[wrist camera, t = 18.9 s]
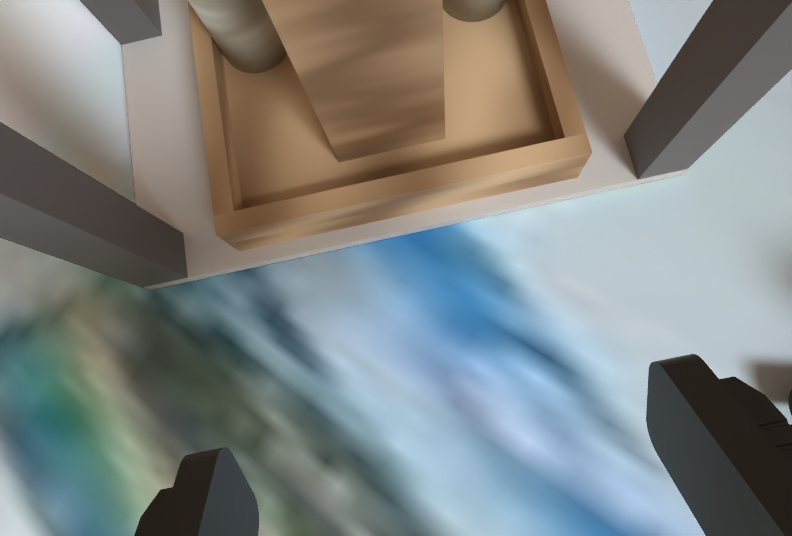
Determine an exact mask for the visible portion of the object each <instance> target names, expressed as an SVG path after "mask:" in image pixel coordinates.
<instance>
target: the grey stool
mask: <svg viewBox="0 0 792 536" xmlns="http://www.w3.org/2000/svg"><path fill="white" fill-rule="evenodd" d="M80 1H81V2H82V3H83V4H84V5H85V6H86V7H87V8H88V9H89V11H90V12H91V13H92V14H93V15H94V16H95V17H96V18H97V19H98V20H99V21H100V22H101V23H102V24H103V25H104V27H105V28H106V29H107V30H108V31H109V32H110V33H111V34H112V35H113V36H114V37H115V38H116V39H117V40H118V41H119V43H120V44H121V45H122V52H123V64H124V76H125V87H126V99H127V110H128V122H129V134H130V145H131V157H132V169H133V180H134V192H135V204H134V203H133V202H131V201H129V200H128V199H126V198H124V197H123V196H121V195H119V194H118V193H116V192H115V191H113V190H111V189H110V188H108V187H106V186H105V185H103V184H101V183H100V182H98V181H96V180H95V179H93V178H91V177H90V176H88V175H87V174H85V173H83V172H82V171H80V170H78V169H77V168H75V167H73V166H72V165H70V164H68V163H67V162H65V161H64V160H62V159H60V158H59V157H57V156H55V155H54V154H52V153H50V152H49V151H47V150H45V149H44V148H42V147H40V146H39V145H37V144H36V143H34V142H32V141H31V140H29V139H27V138H26V137H24V136H22V135H21V134H19V133H17V132H16V131H14V130H12V129H11V128H9V127H8V126H6V125H4V124H3V123H1V122H0V238H3V239H6V240H9V241H12V242H14V243H17V244H20V245H23V246H26V247H29V248H32V249H34V250H37V251H40V252H43V253H46V254H49V255H52V256H54V257H57V258H60V259H63V260H66V261H69V262H71V263H74V264H77V265H80V266H83V267H86V268H89V269H91V270H94V271H97V272H100V273H103V274H106V275H108V276H111V277H114V278H117V279H120V280H123V281H126V282H128V283H131V284H134V285H137V286H140V287H143V288H146V289H148V290H153V289H158V288H162V287H167V286H172V285H176V284H181V283H185V282H190V281H195V280H199V279H204V278H208V277H213V276H218V275H222V274H227V273H231V272H236V271H241V270H245V269H250V268H254V267H259V266H264V265H268V264H273V263H277V262H282V261H287V260H291V259H296V258H300V257H305V256H310V255H314V254H319V253H323V252H328V251H333V250H337V249H342V248H346V247H351V246H356V245H360V244H365V243H370V242H374V241H379V240H383V239H388V238H393V237H397V236H402V235H406V234H411V233H416V232H420V231H425V230H429V229H434V228H439V227H443V226H448V225H452V224H457V223H462V222H466V221H471V220H475V219H480V218H485V217H489V216H494V215H498V214H503V213H508V212H512V211H517V210H521V209H526V208H531V207H535V206H540V205H544V204H549V203H554V202H558V201H563V200H567V199H572V198H577V197H581V196H586V195H590V194H595V193H600V192H604V191H609V190H613V189H618V188H623V187H627V186H632V185H636V184H641V183H646V182H650V181H655V180H659V179H664V178H669V177H673V176H678V175H682V174H683V173H684V172H685V171H686V170H687V169H688V168H689V167H690V166H691V165H692V164H693V163H694V162H695V161H696V160H697V159H698V158H699V157H700V156H701V155H702V154H703V153H704V152H706V151H707V150H708V149H709V148H710V147H711V146H712V145H713V144H714V143H715V142H716V141H717V140H718V139H719V138H720V137H721V136H722V135H723V134H724V133H725V132H726V131H727V130H728V129H730V128H731V127H732V126H733V125H734V124H735V123H736V122H737V121H738V120H739V119H740V118H741V117H742V116H743V115H744V114H745V113H746V112H747V111H748V110H749V109H750V108H751V107H752V106H754V105H755V104H756V103H757V102H758V101H759V100H760V99H761V98H762V97H763V96H764V95H765V94H766V93H767V92H768V91H769V90H770V89H771V88H772V87H773V86H774V85H775V84H776V83H778V82H779V81H780V80H781V79H782V78H783V77H784V76H785V75H786V74H787V73H788V72H789V71H790V70H791V69H792V0H713V1H712V3H711V4H710V6H709V7H708V9H707V10H706V12H705V13H704V15H703V16H702V18H701V19H700V21H699V22H698V24H697V25H696V27H695V29H694V30H693V32H692V33H691V35H690V36H689V38H688V39H687V41H686V42H685V44H684V45H683V47H682V48H681V50H680V51H679V53H678V54H677V56H676V57H675V59H674V60H673V62H672V63H671V65H670V66H669V68H668V69H667V71H666V72H665V74H664V75H663V77H662V78H661V80H660V81H659V83H658V84H657V81H656V78H655V75H654V73H653V70H652V67H651V64H650V61H649V58H648V55H647V53H646V50H645V47H644V44H643V41H642V38H641V35H640V33H639V30H638V27H637V24H636V21H635V18H634V15H633V13H632V10H631V7H630V4H629V1H628V0H546V3H547V6H548V9H549V12H550V16H551V19H552V22H553V25H554V29H555V32H556V35H557V38H558V42H559V45H560V48H561V52H562V55H563V58H564V61H565V65H566V68H567V71H568V74H569V78H570V81H571V84H572V87H573V91H574V94H575V97H576V100H577V104H578V107H579V110H580V114H581V117H582V120H583V123H584V127H585V130H586V133H587V136H588V140H589V143H590V146H591V149H592V154H591V156H590V157H589V159H588V161H587V163H586V164H585V166H584V168H583V169H582V171H581V173H580V175H579V176H578V178H573V179H569V180H564V181H559V182H555V183H550V184H546V185H541V186H537V187H532V188H527V189H523V190H518V191H514V192H509V193H504V194H500V195H495V196H491V197H486V198H481V199H477V200H472V201H468V202H463V203H459V204H454V205H449V206H445V207H440V208H436V209H431V210H426V211H422V212H417V213H413V214H408V215H403V216H399V217H394V218H390V219H385V220H381V221H376V222H371V223H367V224H362V225H358V226H353V227H348V228H344V229H339V230H335V231H330V232H326V233H321V234H316V235H312V236H307V237H303V238H298V239H293V240H289V241H284V242H280V243H275V244H270V245H266V246H261V247H257V248H252V249H248V250H243V251H238V250H237V249H235V248H234V247H232V246H231V245H229V244H228V243H226V242H225V241H224V240H222V239H221V238H219V237H218V236H216V232H215V224H214V216H213V207H212V199H211V191H210V183H209V174H208V166H207V158H206V149H205V141H204V133H203V125H202V116H201V108H200V100H199V91H198V83H197V75H196V67H195V58H194V50H193V42H192V34H191V25H190V17H189V9H188V0H80Z"/></svg>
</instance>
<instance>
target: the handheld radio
mask: <svg viewBox="0 0 792 536" xmlns="http://www.w3.org/2000/svg"><path fill="white" fill-rule="evenodd" d="M789 409H790V412H791V415H792V390H791V392H790V394H789Z"/></svg>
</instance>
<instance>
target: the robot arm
mask: <svg viewBox="0 0 792 536" xmlns="http://www.w3.org/2000/svg"><path fill="white" fill-rule="evenodd" d="M646 421H647V428H648V432H649V436H650V439H651V442H652V444H653V446H654V449H655V451H656V452H657V454H658V456H659V458H660V459H661V461H662V463H663V464H664V466H665V468H666V469H667V471H668V473H669V474H670V476H671V478H672V479H673V481H674V483H675V485H676V486H677V488H678V490H679V491H680V493H681V495H682V496H683V498H684V500H685V501H686V503H687V505H688V506H689V508H690V510H691V511H692V513H693V515H694V516H695V518H696V520H697V521H698V523H699V525H700V526H701V528H702V530H703V532H704V533H705V535H706V536H792V425H789V424H788V422H787V419H786V418H785V417H784V416H783V414H782V413H781V412H780V411H779V410H778V409H777V408H776V407H775V406H774V404H773V403H772V402H771V401H770V400H769V399H768V398H767V397H766V396H765V395H764V394H762V393H761V392H759V391H757V390H756V389H754V388H752V387H751V386H749V385H747V384H746V383H744V382H743V381H741V380H739V379H738V378H736V377H730V378H725V379H720V380H719V379H718V377H717V376H716V375H715V374H714V373H713V371H712V370H711V369H710V368H709V367H708V365H707V364H706V363H705V362H704V361H703V360H702V359H701V358H700V357H699V356H698V355H696V354H690V355H685V356H680V357H675V358H671V359H666V360H661V361H656V362H652V363H651V364H650V367H649V377H648V396H647V415H646ZM258 529H259V512H258V505H257V501H256V498H255V495H254V493H253V491H252V489H251V488H250V486H249V484H248V482H247V480H246V478H245V476H244V475H243V473H242V471H241V469H240V467H239V465H238V463H237V462H236V460H235V458H234V456H233V454H232V452H231V451H230V450H229V449H228V448H226V447H224V448H219V449H214V450H209V451H204V452H199V453H194V454H189V455H186V456H185V457H184V458H183V460H182V461H181V464H180V467H179V470H178V473H177V476H176V479H175V482H174V486H173V487H172V488H167V489H162V490H160V491H159V493H158V494H157V495H156V497H155V498H154V500H153V501H152V502H151V504H150V505H149V507H148V508H147V509H146V511H145V512H144V514H143V515H142V516H141V518H140V521H139V524H138V527H137V529H136V532H135V535H134V536H258Z"/></svg>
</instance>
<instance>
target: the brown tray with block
mask: <svg viewBox="0 0 792 536" xmlns="http://www.w3.org/2000/svg"><path fill="white" fill-rule="evenodd" d="M188 9H189V17H190V25H191V34H192V42H193V50H194V58H195V67H196V75H197V83H198V91H199V100H200V108H201V116H202V125H203V133H204V141H205V149H206V158H207V166H208V174H209V183H210V191H211V199H212V207H213V216H214V224H215V232H216V236H218V237H219V238H221V239H222V240H224V241H225V242H226V243H228V244H229V245H231V246H232V247H234V248H235V249H237V250H238V251H243V250H248V249H252V248H257V247H261V246H266V245H270V244H275V243H280V242H284V241H289V240H293V239H298V238H303V237H307V236H312V235H316V234H321V233H326V232H330V231H335V230H339V229H344V228H348V227H353V226H358V225H362V224H367V223H371V222H376V221H381V220H385V219H390V218H394V217H399V216H403V215H408V214H413V213H417V212H422V211H426V210H431V209H436V208H440V207H445V206H449V205H454V204H459V203H463V202H468V201H472V200H477V199H481V198H486V197H491V196H495V195H500V194H504V193H509V192H514V191H518V190H523V189H527V188H532V187H537V186H541V185H546V184H550V183H555V182H559V181H564V180H569V179H573V178H578V176H579V175H580V173H581V171H582V169H583V168H584V166H585V164H586V163H587V161H588V159H589V157H590V156H591V154H592V149H591V146H590V143H589V140H588V136H587V133H586V130H585V127H584V123H583V120H582V117H581V114H580V110H579V107H578V104H577V100H576V97H575V94H574V91H573V87H572V84H571V81H570V78H569V74H568V71H567V68H566V65H565V61H564V58H563V55H562V52H561V48H560V45H559V42H558V38H557V35H556V32H555V29H554V25H553V22H552V19H551V16H550V12H549V9H548V6H547V3H546V0H188Z"/></svg>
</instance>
